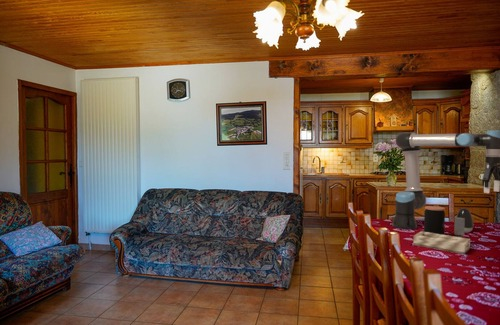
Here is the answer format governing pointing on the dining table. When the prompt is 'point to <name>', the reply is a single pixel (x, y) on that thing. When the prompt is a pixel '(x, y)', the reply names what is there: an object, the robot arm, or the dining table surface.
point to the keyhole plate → (442, 242)
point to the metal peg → (459, 226)
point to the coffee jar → (434, 220)
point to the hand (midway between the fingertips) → (491, 192)
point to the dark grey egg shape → (466, 219)
